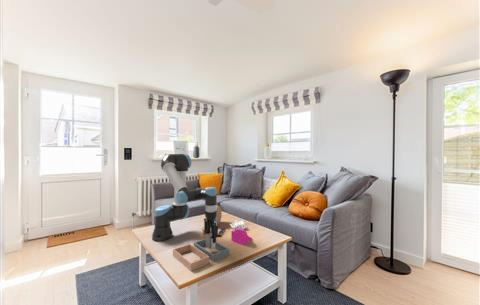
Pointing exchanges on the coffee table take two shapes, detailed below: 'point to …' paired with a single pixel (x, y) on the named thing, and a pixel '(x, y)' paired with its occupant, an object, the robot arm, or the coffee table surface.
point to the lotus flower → (237, 225)
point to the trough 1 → (203, 256)
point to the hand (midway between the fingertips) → (210, 245)
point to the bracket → (240, 236)
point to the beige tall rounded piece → (218, 214)
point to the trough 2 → (212, 257)
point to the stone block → (209, 240)
